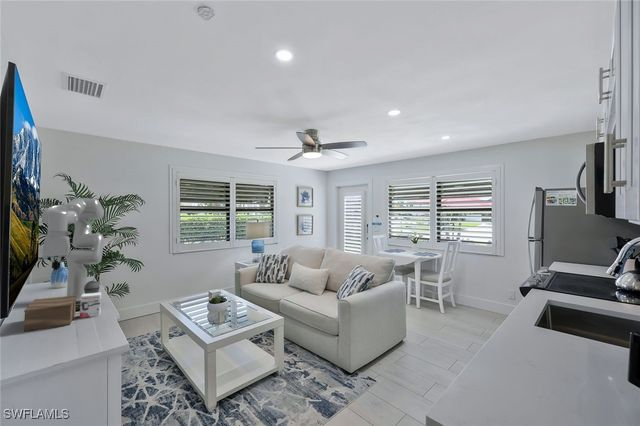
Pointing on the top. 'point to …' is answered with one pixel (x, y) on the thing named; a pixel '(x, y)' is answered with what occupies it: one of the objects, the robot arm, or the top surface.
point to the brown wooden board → (51, 303)
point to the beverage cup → (92, 286)
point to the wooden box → (49, 318)
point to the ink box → (90, 305)
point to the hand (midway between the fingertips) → (56, 269)
